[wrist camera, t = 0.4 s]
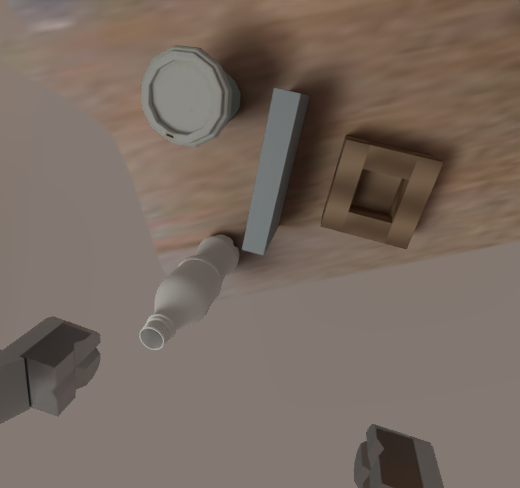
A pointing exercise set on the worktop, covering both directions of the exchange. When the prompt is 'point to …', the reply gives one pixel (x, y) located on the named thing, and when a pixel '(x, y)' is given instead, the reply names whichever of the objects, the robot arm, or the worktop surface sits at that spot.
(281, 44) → the worktop surface
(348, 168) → the socket block
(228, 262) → the water bottle
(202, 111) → the disposable coffee cup
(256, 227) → the wall
